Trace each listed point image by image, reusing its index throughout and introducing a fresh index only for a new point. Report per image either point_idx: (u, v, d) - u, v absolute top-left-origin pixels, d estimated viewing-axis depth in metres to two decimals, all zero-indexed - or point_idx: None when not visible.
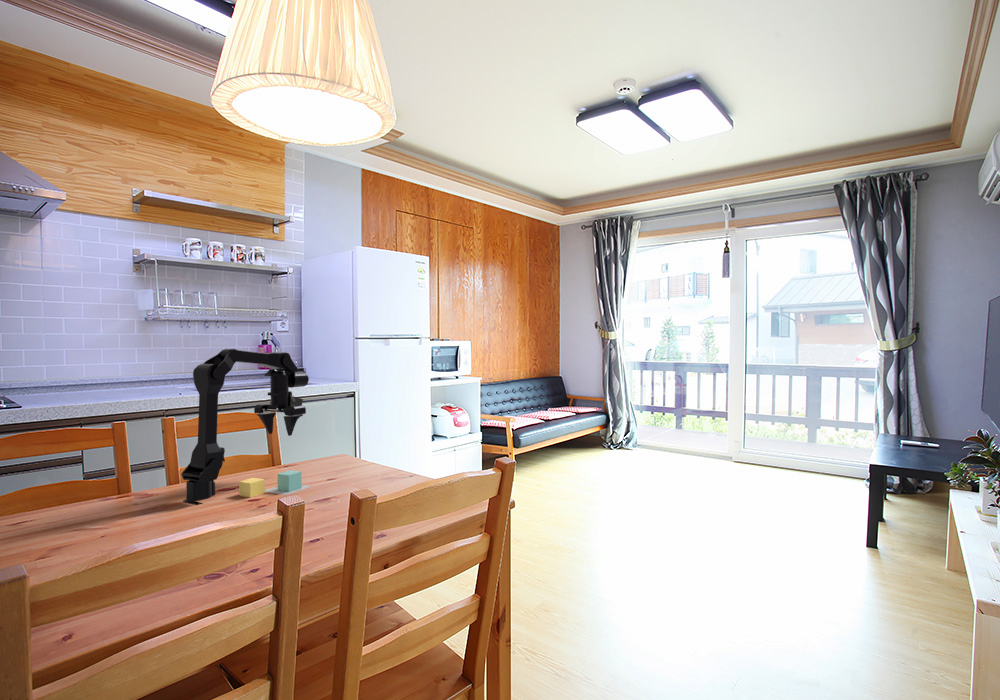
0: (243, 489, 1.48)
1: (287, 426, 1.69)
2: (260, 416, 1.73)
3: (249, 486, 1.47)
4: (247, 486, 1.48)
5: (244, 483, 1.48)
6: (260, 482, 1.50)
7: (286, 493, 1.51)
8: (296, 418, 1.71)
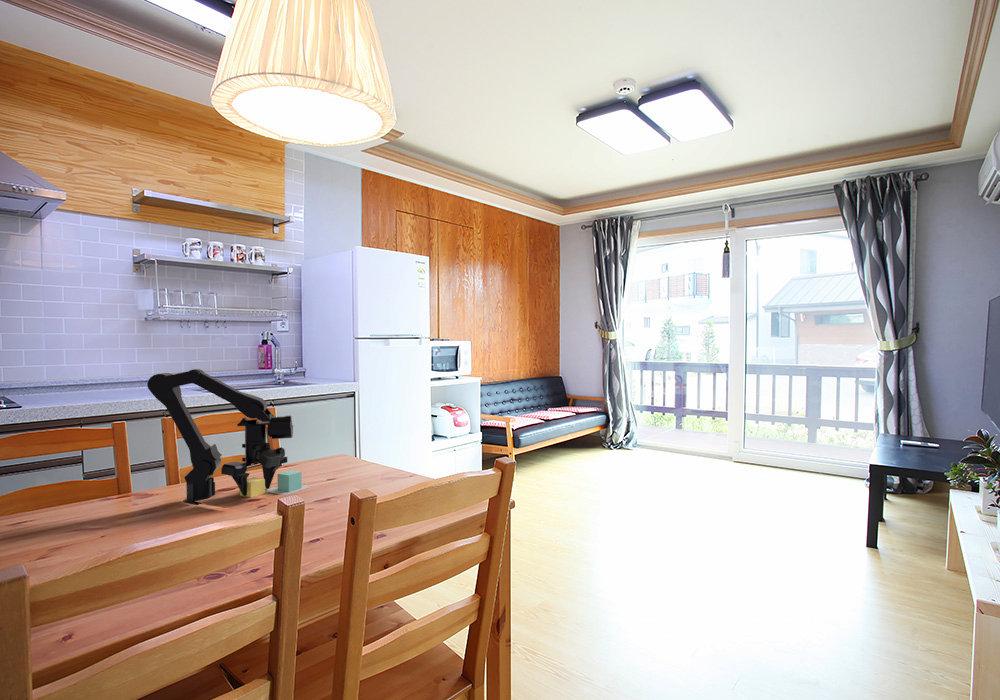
0: None
1: None
2: None
3: (250, 485, 1.47)
4: (247, 485, 1.48)
5: None
6: (260, 482, 1.50)
7: (286, 493, 1.51)
8: (241, 478, 1.46)
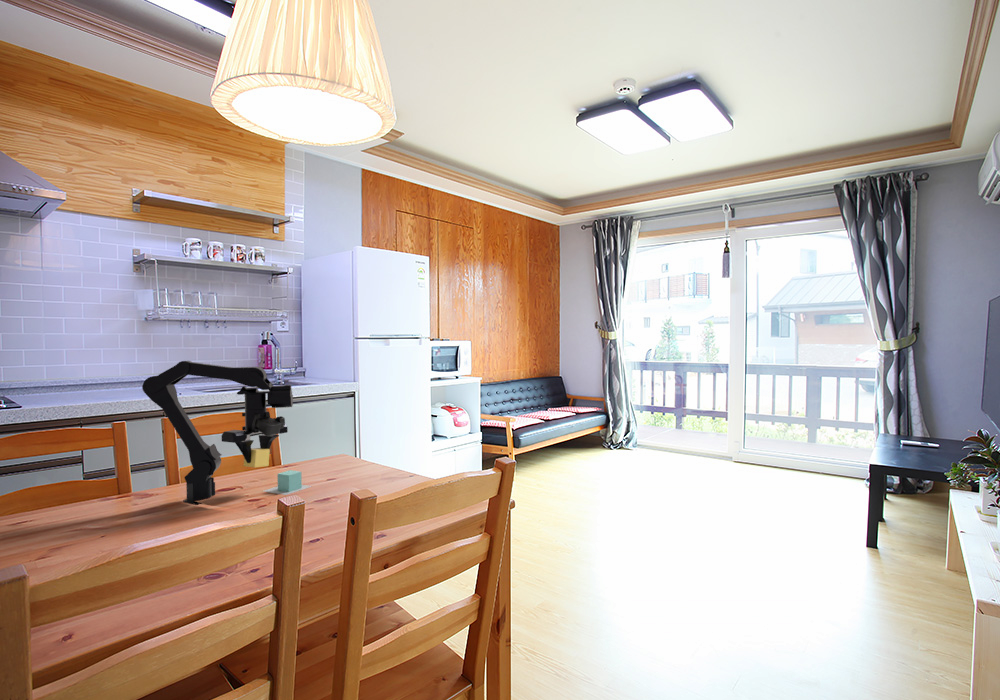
0: None
1: None
2: None
3: (255, 453, 1.49)
4: (252, 453, 1.49)
5: None
6: (265, 451, 1.52)
7: (286, 493, 1.51)
8: (245, 444, 1.47)
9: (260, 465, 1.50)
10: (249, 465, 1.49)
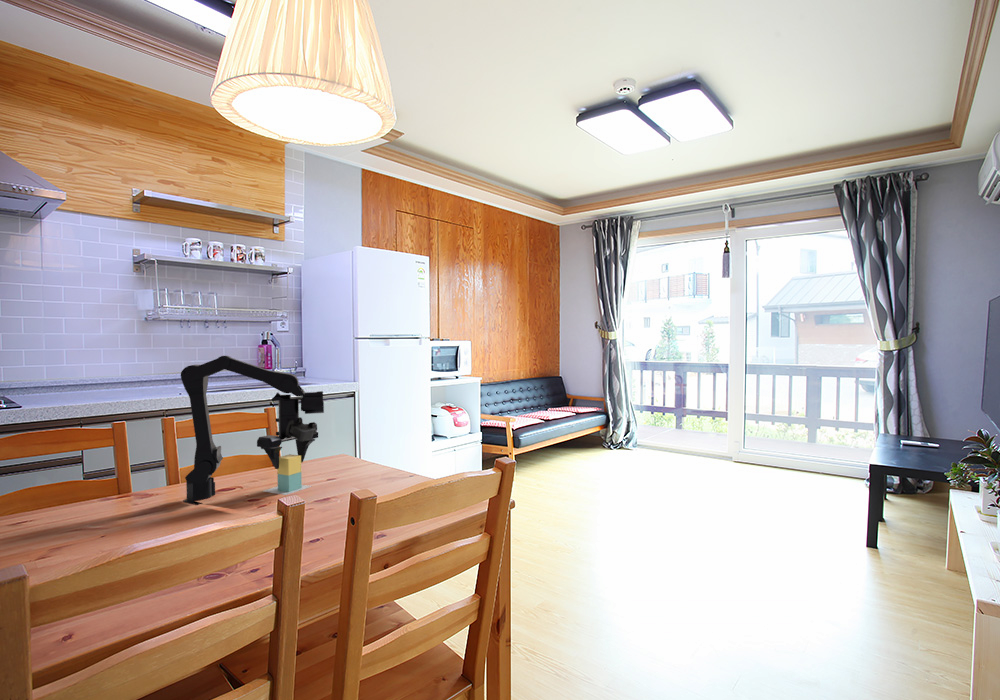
0: (282, 464, 1.53)
1: None
2: None
3: (287, 461, 1.52)
4: (285, 461, 1.53)
5: (282, 459, 1.53)
6: (297, 458, 1.55)
7: (286, 493, 1.51)
8: (274, 451, 1.49)
9: (293, 472, 1.54)
10: (283, 473, 1.53)
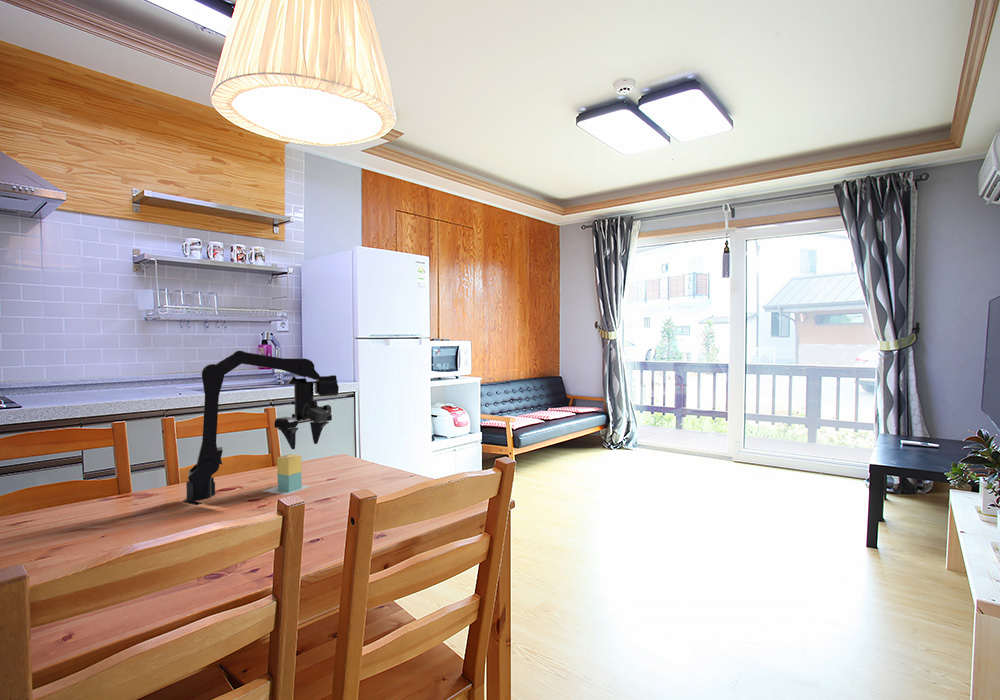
0: (282, 464, 1.53)
1: None
2: None
3: (287, 461, 1.52)
4: (285, 461, 1.53)
5: (282, 459, 1.53)
6: (297, 458, 1.55)
7: (286, 493, 1.51)
8: (290, 432, 1.56)
9: (293, 472, 1.54)
10: (283, 473, 1.53)
